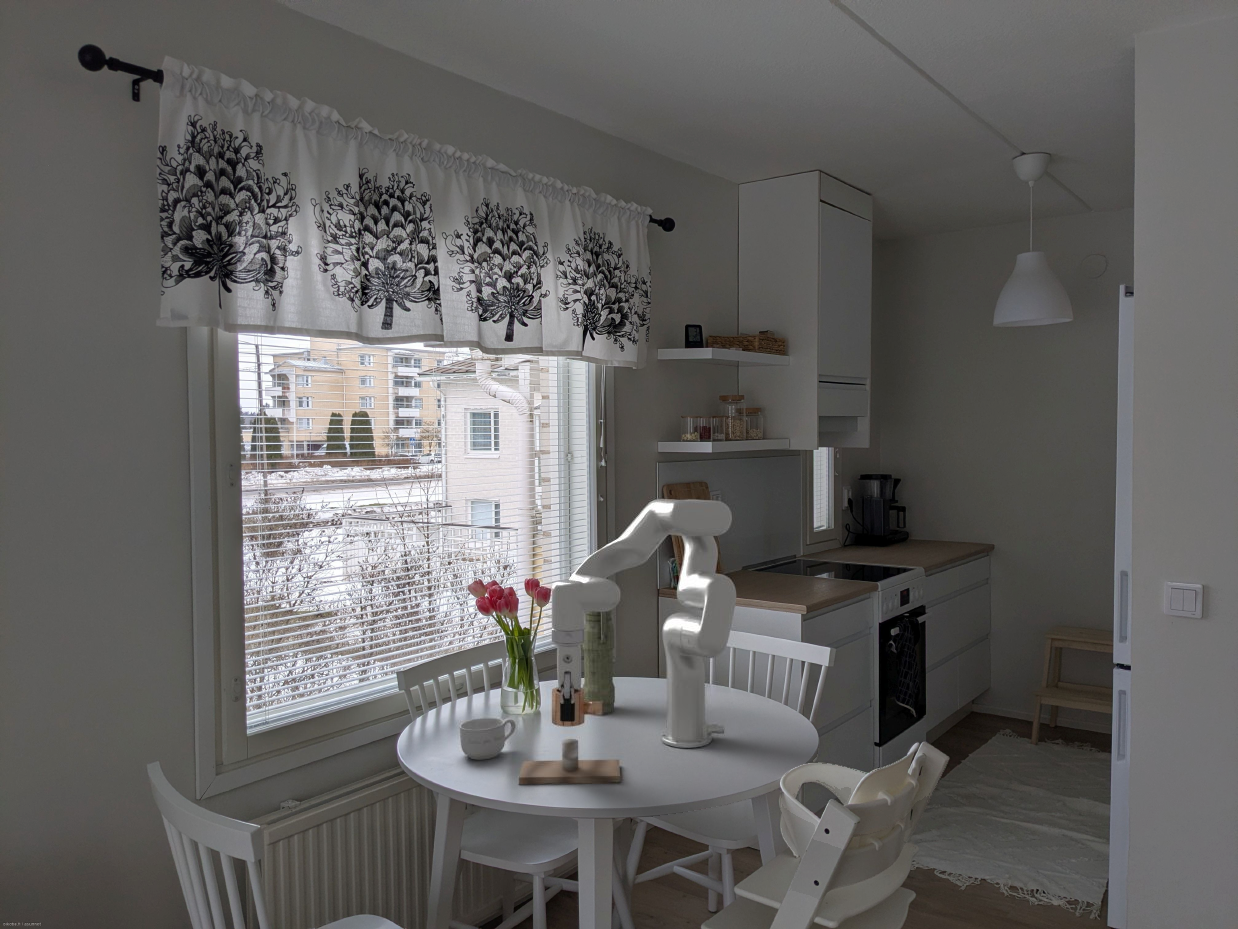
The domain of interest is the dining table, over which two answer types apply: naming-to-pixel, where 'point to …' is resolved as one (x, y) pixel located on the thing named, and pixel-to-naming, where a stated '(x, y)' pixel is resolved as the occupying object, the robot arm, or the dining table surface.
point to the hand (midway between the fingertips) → (568, 715)
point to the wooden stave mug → (580, 708)
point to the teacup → (484, 736)
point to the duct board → (570, 777)
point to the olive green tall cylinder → (599, 660)
